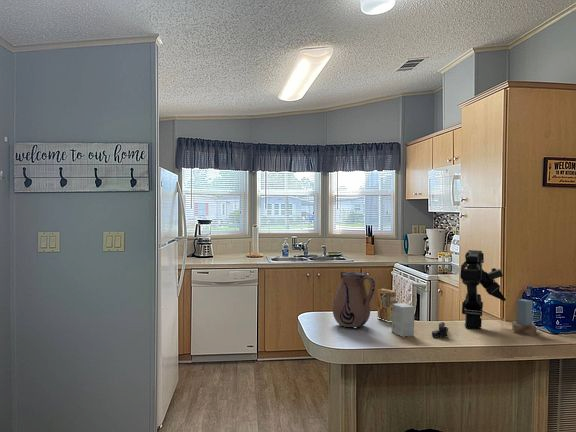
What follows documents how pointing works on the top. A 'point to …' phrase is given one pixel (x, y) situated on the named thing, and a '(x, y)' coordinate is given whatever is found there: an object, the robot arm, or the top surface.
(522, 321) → the pillar
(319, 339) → the top surface
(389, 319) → the candy box
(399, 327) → the small box
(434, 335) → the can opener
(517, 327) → the base block
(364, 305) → the ceramic pitcher
